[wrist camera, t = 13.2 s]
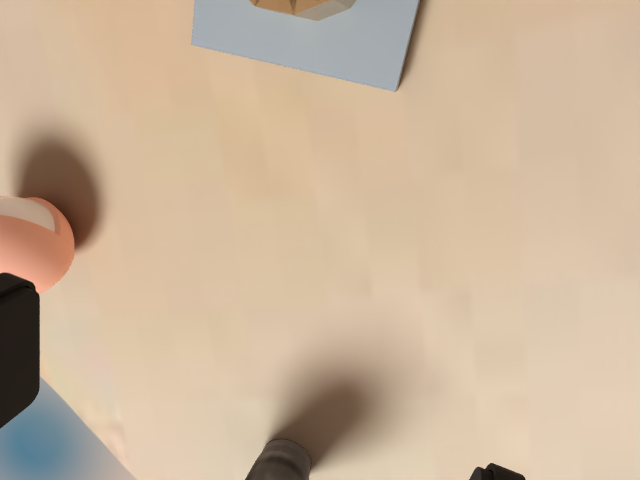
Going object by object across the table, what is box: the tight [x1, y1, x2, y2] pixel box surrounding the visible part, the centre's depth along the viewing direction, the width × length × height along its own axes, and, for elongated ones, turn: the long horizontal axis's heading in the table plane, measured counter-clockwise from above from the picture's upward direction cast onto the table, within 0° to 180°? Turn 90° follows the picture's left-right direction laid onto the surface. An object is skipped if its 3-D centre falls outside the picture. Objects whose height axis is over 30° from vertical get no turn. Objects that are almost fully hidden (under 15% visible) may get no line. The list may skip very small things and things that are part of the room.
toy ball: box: [0, 196, 74, 294], centre depth 35 cm, size 8×8×8 cm
